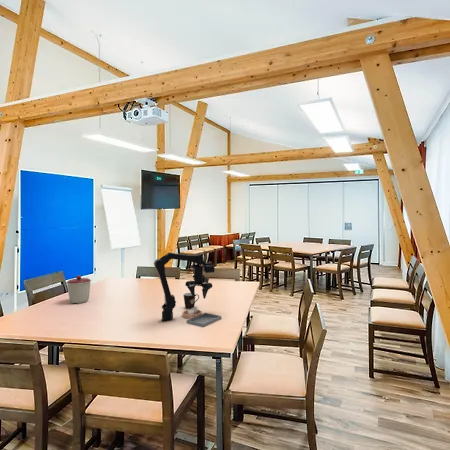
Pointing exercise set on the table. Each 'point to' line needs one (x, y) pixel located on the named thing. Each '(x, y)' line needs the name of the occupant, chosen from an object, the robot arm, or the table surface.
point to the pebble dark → (194, 310)
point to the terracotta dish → (185, 315)
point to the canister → (78, 289)
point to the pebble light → (191, 312)
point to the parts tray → (204, 319)
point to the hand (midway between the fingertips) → (199, 297)
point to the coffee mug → (189, 300)
